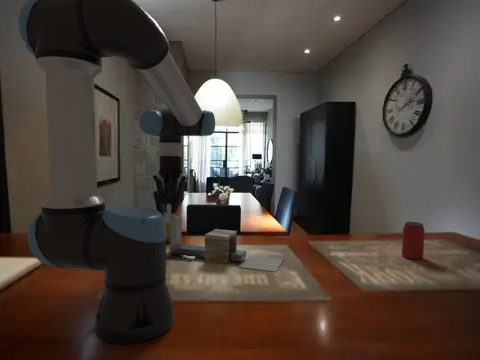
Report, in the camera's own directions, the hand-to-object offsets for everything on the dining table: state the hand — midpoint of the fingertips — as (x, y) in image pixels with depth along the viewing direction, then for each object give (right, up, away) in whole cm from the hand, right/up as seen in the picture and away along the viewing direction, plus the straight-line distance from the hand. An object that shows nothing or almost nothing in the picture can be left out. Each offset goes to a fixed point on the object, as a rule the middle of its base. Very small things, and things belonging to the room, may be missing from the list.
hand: (170, 222), depth 110 cm
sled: (+13, -11, -4) cm, 17 cm away
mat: (+31, -12, -9) cm, 35 cm away
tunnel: (+18, -11, -5) cm, 22 cm away
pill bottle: (-5, -10, +19) cm, 22 cm away
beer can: (+85, -12, -1) cm, 86 cm away
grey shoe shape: (+5, -11, -1) cm, 12 cm away
